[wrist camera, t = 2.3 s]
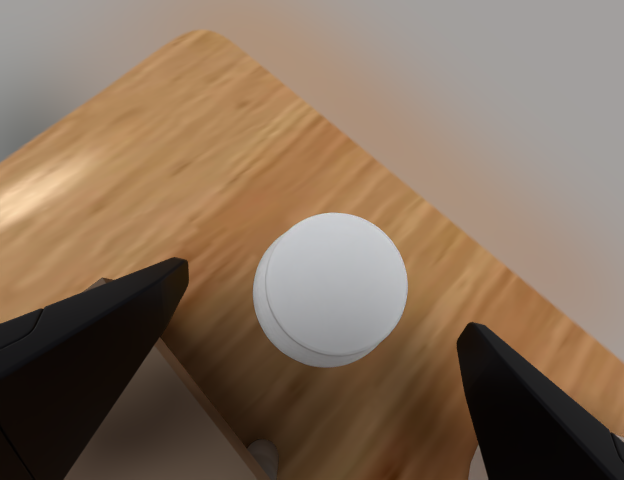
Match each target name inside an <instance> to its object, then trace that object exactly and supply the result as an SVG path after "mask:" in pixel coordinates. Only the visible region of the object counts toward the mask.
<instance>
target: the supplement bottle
mask: <svg viewBox="0 0 624 480" xmlns="http://www.w3.org/2000/svg"><path fill="white" fill-rule="evenodd" d="M407 292H408V282H407V274H406V269H405V266H404V263H403V260H402V257H401V255H400V253H399V251H398V250H397V248H396V246H395V245H394V243H393V242H392V241H391V239H390V238H389V237H388V236H387V235H386V234H385V233H384V232H383V231H382V230H381V229H379V228H378V227H377V226H375V225H374V224H372V223H370V222H369V221H367V220H365V219H363V218H360V217H357V216H354V215H350V214H344V213H325V214H319V215H315V216H312V217H309V218H307V219H305V220H303V221H301V222H299V223H297V224H296V225H294V226H293V227H292V228H290V229H289V230H288V231H287V232H285V233H284V234H283V235H281V236H280V237H279V238H278V239H276V240H275V241H274V242H273V243H272V244H271V246H270V247H269V248H268V249H267V250H266V252H265V253H264V255H263V257H262V259H261V261H260V263H259V265H258V268H257V271H256V274H255V278H254V284H253V301H254V307H255V312H256V315H257V318H258V321H259V323H260V325H261V327H262V329H263V331H264V333H265V334H266V336H267V337H268V338H269V340H270V341H271V342H272V343H273V344H274V345H275V346H276V347H277V348H278V349H279V350H280V351H281V352H283V353H284V354H286V355H287V356H289V357H291V358H292V359H294V360H296V361H298V362H301V363H303V364H306V365H310V366H315V367H326V368H328V367H338V366H343V365H347V364H350V363H352V362H355V361H357V360H359V359H361V358H362V357H364V356H366V355H367V354H369V353H370V352H371V351H372V350H373V349H374V348H376V347H377V345H378V344H379V343H380V342H381V341H383V340H384V339H385V338H386V337H387V336H388V335H389V334H390V333H391V332H392V330H393V329H394V328H395V326H396V325H397V323H398V322H399V320H400V318H401V316H402V313H403V310H404V307H405V304H406V300H407Z"/></svg>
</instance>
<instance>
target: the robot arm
mask: <svg viewBox="0 0 624 480" xmlns="http://www.w3.org/2000/svg"><path fill="white" fill-rule="evenodd" d="M188 283H189V271H188V261H187V260H185V259H181V258H177V257H173V258H170V259H167V260H165V261H162V262H160V263H157V264H155V265H152V266H149V267H147V268H144V269H142V270H139V271H136V272H134V273H131V274H129V275H126V276H124V277H121V278H118V279H116V280H113V281H111V282H108V283H105V284H103V285H100V286H98V287H95V288H92V289H90V290H87V291H85V292H82V293H80V294H77V295H74V296H72V297H69V298H67V299H64V300H61V301H59V302H56V303H54V304H51V305H48V306H46V307H44V309H42V308H41V309H38V310H35V311H33V312H30V313H28V314H25V315H22V316H20V317H17V318H14V319H12V320H9V321H6V322H4V323H1V324H0V480H64V478H65V477H66V475H67V474H68V472H69V471H70V469H71V468H72V466H73V465H74V463H75V462H76V461H77V459H78V458H79V456H80V455H81V453H82V452H83V450H84V449H85V447H86V446H87V444H88V443H89V441H90V440H91V438H92V437H93V435H94V434H95V432H96V431H97V429H98V428H99V427H100V425H101V424H102V422H103V421H104V419H105V418H106V416H107V415H108V413H109V412H110V410H111V409H112V407H113V406H114V404H115V403H116V401H117V400H118V398H119V397H120V395H121V394H122V392H123V391H124V390H125V388H126V387H127V385H128V384H129V382H130V381H131V379H132V378H133V376H134V375H135V373H136V372H137V370H138V369H139V367H140V366H141V364H142V363H143V361H144V360H145V358H146V357H147V355H148V354H149V353H150V351H151V350H152V348H153V347H154V345H155V344H156V342H157V341H158V339H159V338H160V336H161V335H162V333H163V332H164V330H165V328H166V327H167V325H168V323H169V321H170V319H171V317H172V315H173V313H174V312H175V310H176V308H177V306H178V304H179V302H180V300H181V298H182V296H183V294H184V292H185V291H186V289H187V286H188ZM457 352H458V358H459V364H460V370H461V376H462V382H463V387H464V392H465V397H466V401H467V404H468V408H469V412H470V415H471V419H472V422H473V426H474V430H475V433H476V437H477V440H478V444H479V448H480V451H481V455H482V458H483V462H484V466H485V469H486V473H487V476H488V480H624V442H623V441H622V440H621V439H620V438H618V437H617V436H616V435H615V434H614V433H610V431H609V429H608V428H606V427H605V426H604V425H603V424H602V423H600V422H599V421H598V420H597V419H596V418H594V417H593V416H592V415H591V414H590V413H589V412H587V411H586V410H585V409H584V408H583V407H581V406H580V405H579V404H578V403H577V402H575V401H574V400H573V399H572V398H571V397H570V396H568V395H567V394H566V393H565V392H564V391H562V390H561V389H560V388H559V387H558V386H556V385H555V384H554V383H553V382H552V381H550V380H549V379H548V378H547V377H546V376H545V375H543V374H542V373H541V372H540V371H539V370H537V369H536V368H535V367H534V366H533V365H531V364H530V363H529V362H528V361H527V360H526V359H524V358H523V357H522V356H521V355H520V354H518V353H517V352H516V351H515V350H514V349H512V348H511V347H510V346H509V345H508V344H507V343H505V342H504V341H503V340H502V339H501V338H499V337H498V336H497V335H496V334H495V333H493V332H492V331H491V330H490V329H489V328H487V327H486V326H485V325H483V324H479V323H474V322H470V323H468V324H467V326H466V327H465V329H464V330H463V332H462V333H461V335H460V337H459V338H458V340H457Z"/></svg>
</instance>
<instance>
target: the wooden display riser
mask: <svg viewBox="0 0 624 480" xmlns="http://www.w3.org/2000/svg"><path fill="white" fill-rule="evenodd" d="M111 281H113V280H111V279H106V278H101V279H99V280H98V281H97V282H96V283H94V284H93V285H92V286H90V287H89V288H88V289H86V290H85V291H87V290H90V289H92V288H95V287H98V286H100V285H103V284H105V283H108V282H111ZM85 291H84V292H85ZM278 462H279V454H278V450H277V448H276V446H275V445H274V444H273V443H272V442H271V441H269V440H266V439H259V440H256V441H254V442H253V443H251V444H250V445H249V447H248V448H246V447H245V446H244V444H243V443H242V442H241V441H240V439H239V438H238V437H237V435H236V434H235V433H234V432H233V430H232V429H231V428H230V426H229V425H228V424H227V423H226V421H225V420H224V419H223V417H222V416H221V415H220V414H219V412H218V411H217V410H216V408H215V407H214V406H213V405H212V403H211V402H210V401H209V400H208V398H207V397H206V396H205V394H204V393H203V392H202V391H201V389H200V388H199V387H198V385H197V384H196V383H195V382H194V380H193V379H192V378H191V376H190V375H189V374H188V373H187V371H186V370H185V369H184V367H183V366H182V365H181V364H180V362H179V361H178V360H177V358H176V357H175V356H174V355H173V353H172V352H171V351H170V349H169V348H168V347H167V346H166V344H165V343H164V342H163V340H162V339H161V338H159V339H158V341H157V342H156V344H155V345H154V347H153V348H152V350H151V351H150V353H149V354H148V355H147V357H146V358H145V360H144V361H143V363H142V364H141V366H140V367H139V369H138V370H137V372H136V373H135V375H134V376H133V378H132V379H131V381H130V382H129V384H128V385H127V387H126V388H125V390H124V391H123V392H122V394H121V395H120V397H119V398H118V400H117V401H116V403H115V404H114V406H113V407H112V409H111V410H110V412H109V413H108V415H107V416H106V418H105V419H104V421H103V422H102V424H101V425H100V427H99V428H98V429H97V431H96V432H95V434H94V435H93V437H92V438H91V440H90V441H89V443H88V444H87V446H86V447H85V449H84V450H83V452H82V453H81V455H80V456H79V458H78V459H77V461H76V462H75V463H74V465H73V466H72V468H71V469H70V471H69V472H68V474H67V475H66V477H65V478H64V480H277V471H278Z"/></svg>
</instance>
